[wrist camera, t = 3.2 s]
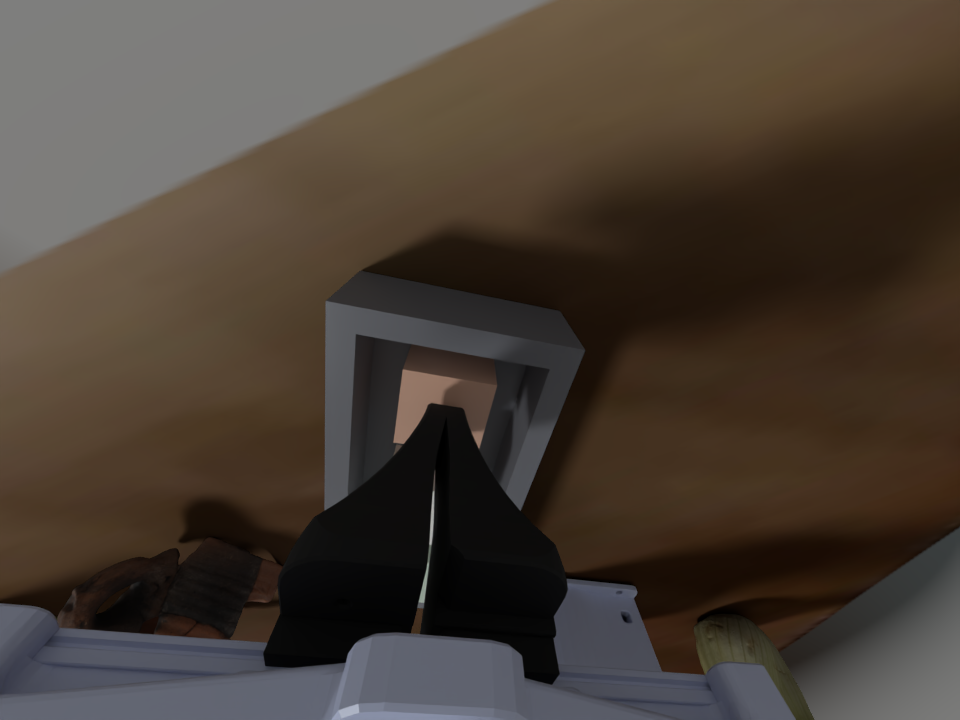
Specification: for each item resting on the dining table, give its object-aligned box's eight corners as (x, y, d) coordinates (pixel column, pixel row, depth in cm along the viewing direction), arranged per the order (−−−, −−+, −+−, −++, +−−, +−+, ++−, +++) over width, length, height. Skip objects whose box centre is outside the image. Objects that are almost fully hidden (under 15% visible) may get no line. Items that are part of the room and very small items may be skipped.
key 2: (493, 356, 15) (497, 385, 13) (476, 419, 17) (477, 454, 15) (412, 341, 15) (402, 369, 13) (403, 408, 16) (393, 442, 14)
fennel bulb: (673, 626, 30) (783, 870, 20) (712, 597, 28) (858, 853, 17) (724, 637, 31) (853, 873, 21) (765, 610, 29) (931, 857, 19)
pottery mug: (324, 576, 26) (251, 725, 21) (257, 548, 31) (186, 664, 26) (165, 524, 18) (-3, 739, 14) (109, 497, 23) (-30, 649, 18)
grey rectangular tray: (559, 310, 16) (585, 350, 12) (477, 549, 24) (479, 613, 21) (360, 270, 15) (326, 301, 11) (346, 534, 23) (324, 599, 20)
